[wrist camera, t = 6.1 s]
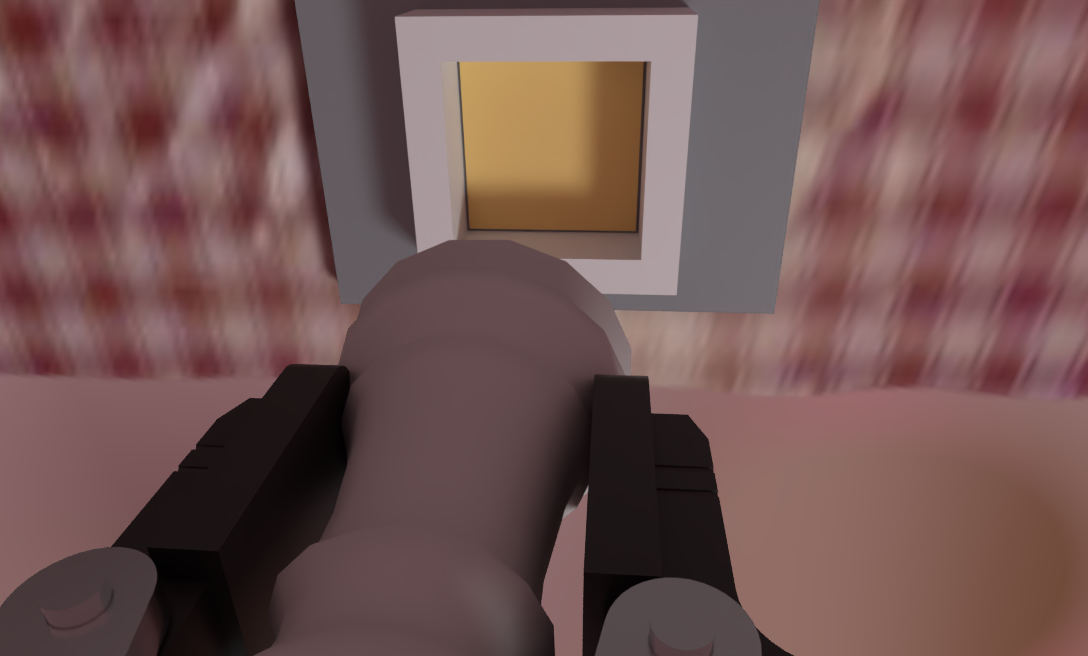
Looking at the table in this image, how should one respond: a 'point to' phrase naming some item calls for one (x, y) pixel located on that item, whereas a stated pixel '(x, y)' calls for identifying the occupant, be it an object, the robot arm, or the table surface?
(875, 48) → the table surface
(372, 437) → the rook chess piece
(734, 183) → the square frame on plate
